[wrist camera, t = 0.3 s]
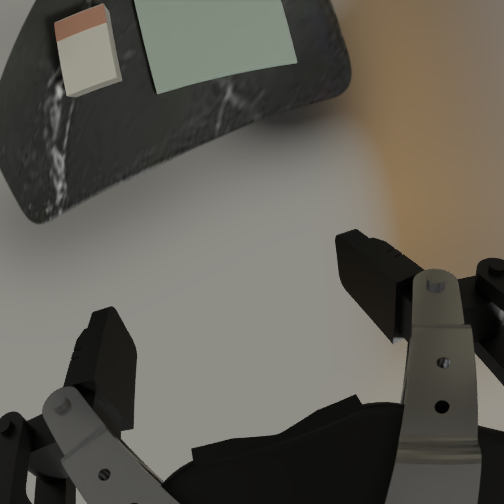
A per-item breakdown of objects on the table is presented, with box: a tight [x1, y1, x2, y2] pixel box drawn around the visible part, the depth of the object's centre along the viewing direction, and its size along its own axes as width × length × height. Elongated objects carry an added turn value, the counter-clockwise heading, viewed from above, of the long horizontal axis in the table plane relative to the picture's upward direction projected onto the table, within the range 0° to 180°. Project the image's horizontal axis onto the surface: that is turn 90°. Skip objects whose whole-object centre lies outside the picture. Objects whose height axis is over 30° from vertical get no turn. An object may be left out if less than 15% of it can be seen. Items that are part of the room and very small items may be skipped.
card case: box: [54, 4, 122, 97], centre depth 26 cm, size 6×9×4 cm, turn 11°
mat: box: [134, 0, 297, 94], centre depth 28 cm, size 15×16×1 cm
